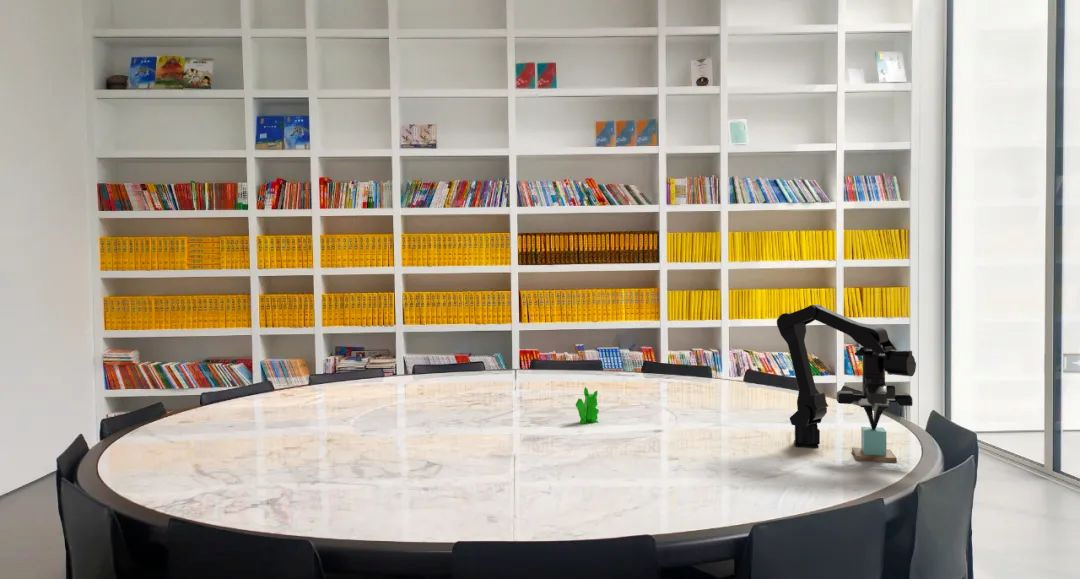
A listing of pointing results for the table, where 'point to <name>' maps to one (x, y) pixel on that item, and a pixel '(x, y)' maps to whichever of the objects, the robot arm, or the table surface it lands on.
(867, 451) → the teal block
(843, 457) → the table surface
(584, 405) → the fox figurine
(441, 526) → the table surface
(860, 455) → the post board
